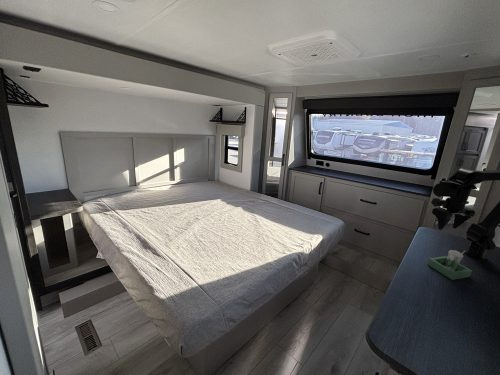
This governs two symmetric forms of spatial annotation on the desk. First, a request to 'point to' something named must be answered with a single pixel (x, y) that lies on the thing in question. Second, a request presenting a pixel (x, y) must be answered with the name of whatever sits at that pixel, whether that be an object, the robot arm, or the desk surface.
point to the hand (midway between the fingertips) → (447, 228)
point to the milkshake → (453, 259)
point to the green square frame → (460, 273)
